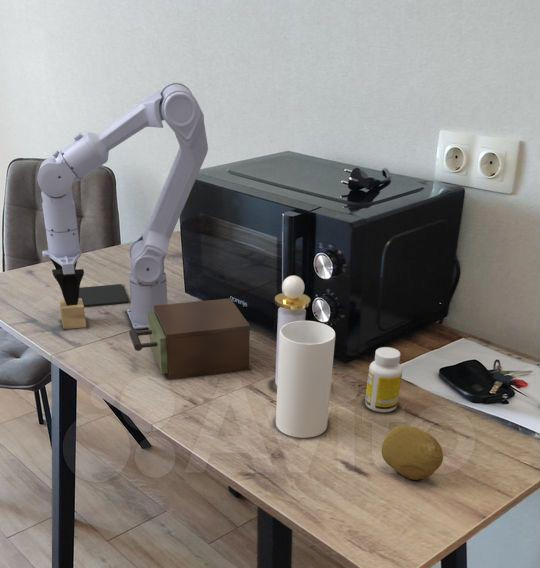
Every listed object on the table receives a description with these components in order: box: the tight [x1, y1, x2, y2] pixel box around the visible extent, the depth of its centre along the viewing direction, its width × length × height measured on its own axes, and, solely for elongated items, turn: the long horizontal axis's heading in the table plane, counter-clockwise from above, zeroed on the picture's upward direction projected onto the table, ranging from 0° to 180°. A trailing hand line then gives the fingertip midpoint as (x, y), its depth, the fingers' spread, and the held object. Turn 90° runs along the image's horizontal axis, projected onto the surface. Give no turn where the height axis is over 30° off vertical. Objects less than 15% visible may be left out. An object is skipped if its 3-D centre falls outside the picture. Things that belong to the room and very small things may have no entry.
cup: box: [275, 320, 336, 439], centre depth 108 cm, size 8×8×16 cm
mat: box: [79, 283, 129, 308], centre depth 152 cm, size 10×10×1 cm
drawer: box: [128, 312, 168, 375], centre depth 126 cm, size 18×11×7 cm, turn 108°
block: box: [58, 298, 87, 330], centre depth 139 cm, size 4×4×4 cm
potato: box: [381, 425, 444, 481], centre depth 99 cm, size 7×8×8 cm
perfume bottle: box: [273, 275, 311, 386], centre depth 117 cm, size 6×6×20 cm
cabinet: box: [153, 297, 251, 380], centre depth 127 cm, size 15×13×9 cm
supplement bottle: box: [364, 346, 403, 413], centre depth 115 cm, size 5×5×10 cm
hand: (70, 296), depth 137 cm, fingers open, 7 cm apart
